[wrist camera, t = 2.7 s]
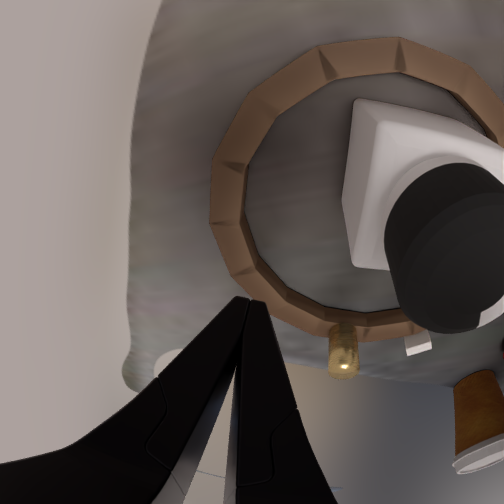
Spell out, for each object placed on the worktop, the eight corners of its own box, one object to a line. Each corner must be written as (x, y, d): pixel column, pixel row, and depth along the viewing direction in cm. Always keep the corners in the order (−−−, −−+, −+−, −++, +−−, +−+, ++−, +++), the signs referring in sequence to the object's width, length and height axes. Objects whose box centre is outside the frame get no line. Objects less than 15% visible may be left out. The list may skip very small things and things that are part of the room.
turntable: (550, 118, 12) (597, 144, 8) (441, 339, 26) (453, 385, 22) (232, 10, 14) (202, -6, 9) (212, 303, 28) (194, 353, 23)
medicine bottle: (339, 202, 20) (359, 352, 10) (353, 96, 16) (421, 161, 6) (434, 215, 19) (502, 352, 10) (457, 119, 15) (583, 210, 5)
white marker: (401, 328, 26) (405, 349, 24) (425, 320, 25) (430, 341, 23) (403, 335, 26) (407, 356, 24) (426, 328, 25) (431, 348, 23)
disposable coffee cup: (438, 406, 34) (446, 480, 25) (447, 373, 29) (462, 463, 20) (493, 389, 31) (508, 459, 22) (511, 354, 26) (535, 435, 17)
